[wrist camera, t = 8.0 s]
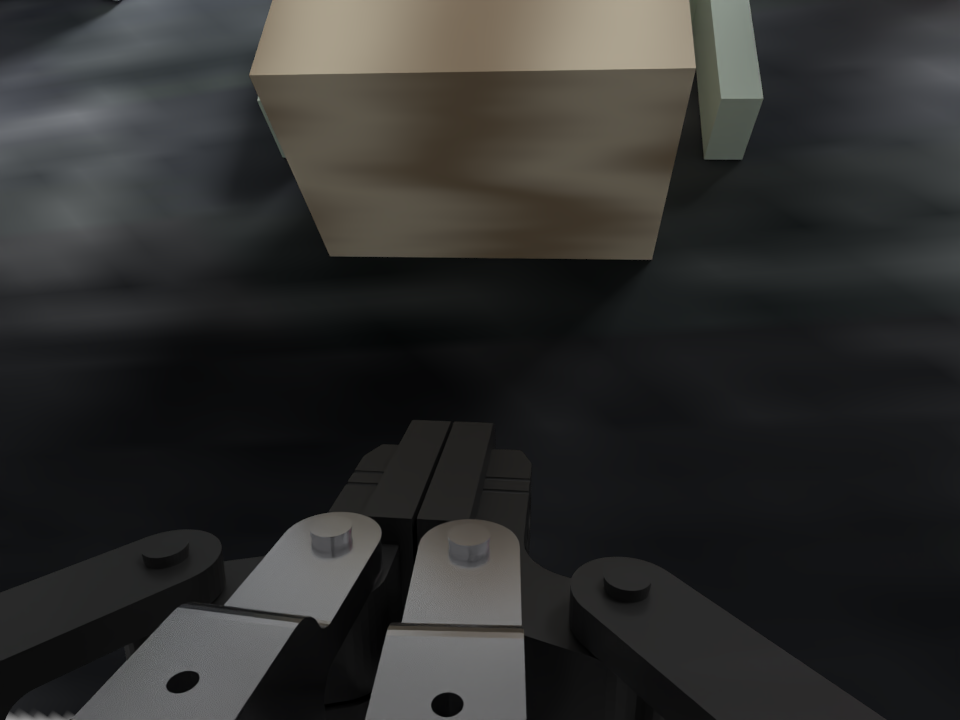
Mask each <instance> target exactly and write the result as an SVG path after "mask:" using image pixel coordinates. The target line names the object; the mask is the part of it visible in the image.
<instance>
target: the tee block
mask: <svg viewBox="0 0 960 720" xmlns="http://www.w3.org/2000/svg"><path fill="white" fill-rule="evenodd" d="M695 71H696V62H695V53H694V43H693V33H692V23H691V13H690V3H689V0H273V1H272V4H271V7H270V10H269V13H268V17H267V20H266V23H265V26H264V29H263V33H262V36H261V39H260V42H259V45H258V48H257V52H256V55H255V58H254V61H253V64H252V68H251V71H250V74H249V76H250V78H251V81H252V83H253V85H254V87H255V90H256V92H257V94H258V96H259V99H260V101H261V103H262V105H263V107H264V110H265V112H266V114H267V116H268V119H269V121H270V123H271V125H272V128H273V130H274V132H275V134H276V137H277V139H278V141H279V143H280V146H281V148H282V150H283V152H284V155H285V157H286V159H287V161H288V163H289V166H290V168H291V170H292V172H293V175H294V177H295V179H296V181H297V184H298V186H299V188H300V190H301V193H302V195H303V197H304V199H305V202H306V204H307V206H308V208H309V210H310V213H311V215H312V217H313V219H314V222H315V224H316V226H317V228H318V231H319V233H320V235H321V237H322V240H323V242H324V244H325V246H326V249H327V251H328V253H329V255H330V256H348V257H439V258H530V259H621V260H652V257H653V253H654V249H655V244H656V240H657V236H658V231H659V227H660V223H661V218H662V214H663V210H664V205H665V201H666V197H667V192H668V188H669V184H670V179H671V175H672V171H673V166H674V162H675V157H676V153H677V149H678V144H679V140H680V136H681V131H682V127H683V123H684V118H685V114H686V110H687V105H688V101H689V97H690V92H691V88H692V84H693V79H694V75H695Z"/></svg>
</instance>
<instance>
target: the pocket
mask: <svg viewBox="0 0 960 720" xmlns="http://www.w3.org/2000/svg"><path fill="white" fill-rule="evenodd" d="M689 3H690V13H691V23H692V28H693V40H694V51H695V62H696V74H697V85H698V97H699V108H700V120H701V131H702V142H703V154H704V160H742V159H743V156H744V153H745V150H746V147H747V144H748V141H749V139H750V136H751V133H752V130H753V127H754V124H755V121H756V119H757V116H758V113H759V110H760V107H761V104H762V101H763V92H762V85H761V78H760V72H759V65H758V58H757V51H756V44H755V37H754V31H753V24H752V17H751V10H750V3H749V0H689ZM257 102H258V104H259V106H260V108H261V110H262V113H263V115H264V117H265V119H266V122H267V124H268V126H269V128H270V130H271V133H272V135H273V137H274V139H275V142H276V144H277V146H278V148H279V150H280V153H281V155H282V157H283V158H286V157H285V155H284V152H283V150H282V148H281V146H280V143H279V141H278V139H277V137H276V134H275V132H274V130H273V128H272V125H271V123H270V121H269V119H268V116H267V114H266V112H265V110H264V107H263V105H262V103H261V101H260V99H259V96H258V99H257Z"/></svg>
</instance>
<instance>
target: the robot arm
mask: <svg viewBox="0 0 960 720" xmlns="http://www.w3.org/2000/svg"><path fill="white" fill-rule="evenodd" d="M531 469H532V464H531V462H530V461H529V460H528V458H527V457H526V456H525V455H524V453H523V452H522V451H521V450H502V449H495V424H494V423H480V422H456V421H455V422H454V424H453V422H452V421H429V420H412V422H411V423H410V425H409V427H408V429H407V431H406V433H405V434H404V436H403V438H402V440H401V442H400V444H399V445H389V444H382V445H381V446H379V447H377V448H376V449H374V450H373V451H371V452H369V453H368V454H366V455H365V456H363V458H362V460H361V461H360V463H359V464H358V466H357V468H356V469H355V473H353V474H352V476H351V477H350V479H349V480H348V484H347V485H345V487H344V488H343V490H342V491H341V493H340V495H339V496H338V498H337V499H336V501H335V503H334V504H333V506H332V507H331V509H330V511H329V512H328V513H324V514H319V515H315V516H312V517H309V518H307V519H304V520H302V521H300V522H298V523H296V524H295V525H293V526H292V527H291V528H289V529H288V530H287V531H286V532H285V534H284V535H283V536H282V537H281V538H280V540H279V541H278V542H277V543H276V544H275V545H274V547H273V548H272V549H271V550H270V551H269V553H268V554H267V555H266V556H262V557H255V558H247V559H239V560H231V561H224V562H223V554H222V546H221V543H220V541H219V539H218V538H217V537H216V536H214V535H212V534H210V533H208V532H204V531H200V530H174V531H168V532H163V533H159V534H155V535H152V536H149V537H146V538H144V539H141V540H138V541H136V542H133V543H130V544H128V545H125V546H122V547H120V548H117V549H115V550H112V551H109V552H107V553H104V554H101V555H99V556H96V557H93V558H91V559H88V560H86V561H83V562H80V563H78V564H75V565H72V566H70V567H67V568H64V569H62V570H59V571H57V572H54V573H51V574H49V575H46V576H43V577H41V578H38V579H36V580H33V581H30V582H28V583H25V584H22V585H20V586H17V587H14V588H12V589H9V590H7V591H4V592H1V593H0V720H5V719H6V716H7V714H8V712H9V711H10V709H11V708H12V706H13V705H14V704H15V703H16V702H17V701H18V700H19V699H20V698H21V697H22V696H23V695H25V694H26V693H28V692H29V691H31V690H33V689H35V688H37V687H39V686H41V685H43V684H45V683H47V682H49V681H52V680H54V679H56V678H58V677H60V676H62V675H64V674H66V673H69V672H71V671H73V670H75V669H77V668H79V667H81V666H83V665H86V664H88V663H90V662H92V661H94V660H96V659H98V658H100V657H102V656H105V655H107V654H109V653H111V652H113V651H115V650H117V649H119V648H122V647H124V648H125V653H126V658H127V661H126V662H125V663H124V664H123V665H122V666H121V667H120V668H119V669H118V670H117V672H116V673H115V674H114V675H113V676H112V677H111V678H110V679H109V680H108V681H107V682H106V683H105V684H104V685H103V686H102V687H101V689H100V690H99V691H98V692H97V693H96V694H95V695H94V696H93V697H92V698H91V699H90V700H89V701H88V702H87V703H86V704H85V706H84V707H83V708H82V709H81V710H80V711H79V712H78V713H77V714H76V715H75V716H74V717H73V718H72V719H70V720H886V719H885V718H883V717H882V716H880V715H879V714H877V713H876V712H874V711H873V710H871V709H870V708H868V707H867V706H865V705H864V704H862V703H861V702H859V701H858V700H856V699H855V698H854V697H852V696H851V695H849V694H848V693H846V692H845V691H843V690H842V689H840V688H839V687H837V686H836V685H834V684H833V683H831V682H830V681H828V680H827V679H825V678H824V677H823V676H821V675H820V674H818V673H817V672H815V671H814V670H812V669H811V668H809V667H808V666H806V665H805V664H803V663H802V662H800V661H799V660H797V659H796V658H794V657H793V656H791V655H790V654H789V653H787V652H786V651H784V650H783V649H781V648H780V647H778V646H777V645H775V644H774V643H772V642H771V641H769V640H768V639H766V638H765V637H763V636H762V635H760V634H759V633H758V632H756V631H755V630H753V629H752V628H750V627H749V626H747V625H746V624H744V623H743V622H741V621H740V620H738V619H737V618H735V617H734V616H732V615H731V614H729V613H728V612H727V611H725V610H724V609H722V608H721V607H719V606H718V605H716V604H715V603H713V602H712V601H710V600H709V599H707V598H706V597H704V596H703V595H701V594H700V593H698V592H697V591H695V590H694V589H693V588H691V587H690V586H688V585H687V584H685V583H684V582H682V581H681V580H679V579H678V578H676V577H675V576H673V575H672V574H670V573H669V572H667V571H666V570H664V569H662V568H661V567H659V566H657V565H654V564H652V563H649V562H646V561H643V560H639V559H635V558H627V557H606V558H600V559H596V560H593V561H590V562H588V563H586V564H584V565H582V566H581V567H580V568H578V569H577V570H576V571H575V573H574V574H573V576H572V578H568V577H564V576H561V575H558V574H555V573H553V572H550V571H548V570H546V569H544V568H543V567H541V566H539V565H538V564H537V563H535V562H534V561H533V560H532V559H531V558H530V557H529V545H530V519H531Z"/></svg>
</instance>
